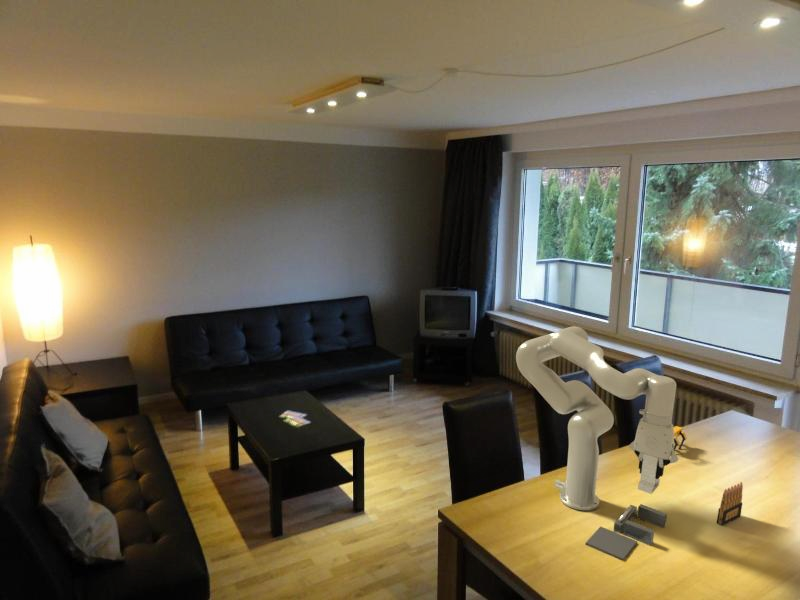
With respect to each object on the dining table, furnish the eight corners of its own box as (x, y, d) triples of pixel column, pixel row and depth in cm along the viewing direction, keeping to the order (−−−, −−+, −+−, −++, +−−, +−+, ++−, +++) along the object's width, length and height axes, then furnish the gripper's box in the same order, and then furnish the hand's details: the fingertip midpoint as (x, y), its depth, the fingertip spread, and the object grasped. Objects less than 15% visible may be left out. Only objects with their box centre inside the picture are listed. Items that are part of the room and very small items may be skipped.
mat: (585, 544, 168) (585, 542, 168) (600, 528, 177) (600, 526, 176) (623, 560, 161) (623, 558, 161) (636, 543, 170) (637, 541, 169)
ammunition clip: (734, 513, 186) (740, 479, 184) (740, 516, 184) (745, 482, 182) (716, 523, 180) (721, 488, 178) (722, 526, 179) (727, 491, 177)
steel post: (637, 489, 172) (642, 452, 170) (645, 480, 177) (650, 444, 175) (651, 494, 170) (656, 456, 167) (659, 485, 175) (664, 448, 172)
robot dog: (652, 455, 225) (655, 423, 223) (671, 442, 237) (675, 411, 235) (666, 460, 221) (670, 428, 219) (685, 447, 233) (689, 416, 230)
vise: (613, 530, 175) (614, 518, 175) (629, 511, 186) (631, 500, 185) (650, 545, 168) (652, 533, 168) (665, 525, 179) (667, 513, 178)
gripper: (624, 413, 171) (617, 469, 175) (684, 430, 161) (675, 489, 165) (633, 406, 177) (626, 460, 181) (691, 422, 166) (683, 480, 170)
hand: (650, 474), depth 173 cm, fingers closed on steel post, 4 cm apart
